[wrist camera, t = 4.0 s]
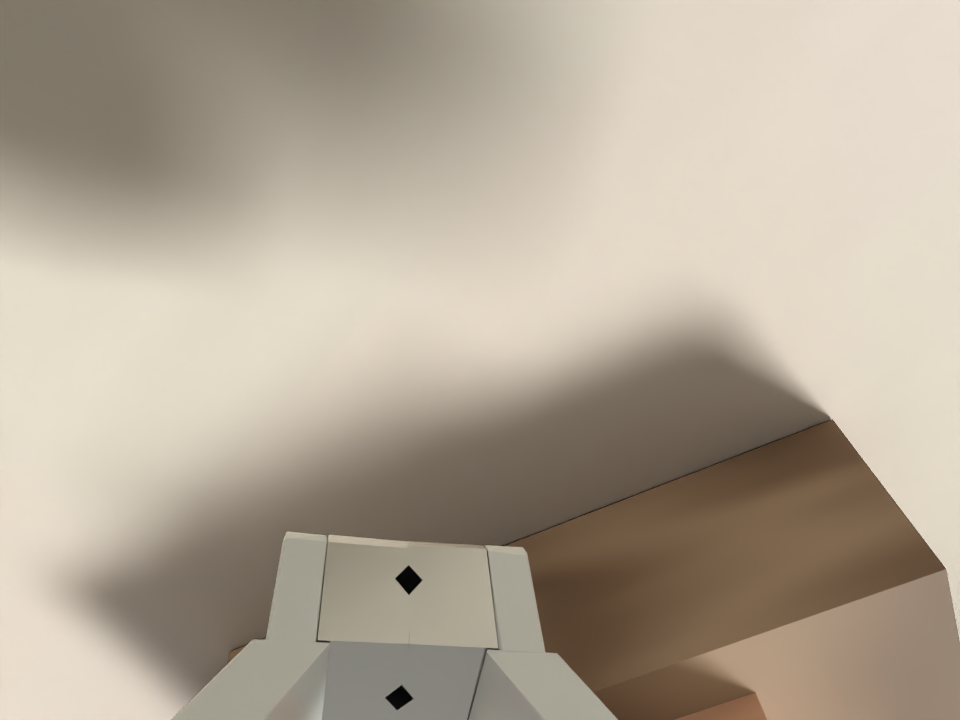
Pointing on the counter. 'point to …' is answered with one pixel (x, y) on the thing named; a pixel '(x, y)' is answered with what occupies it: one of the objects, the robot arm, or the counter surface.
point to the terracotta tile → (732, 710)
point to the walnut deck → (753, 593)
